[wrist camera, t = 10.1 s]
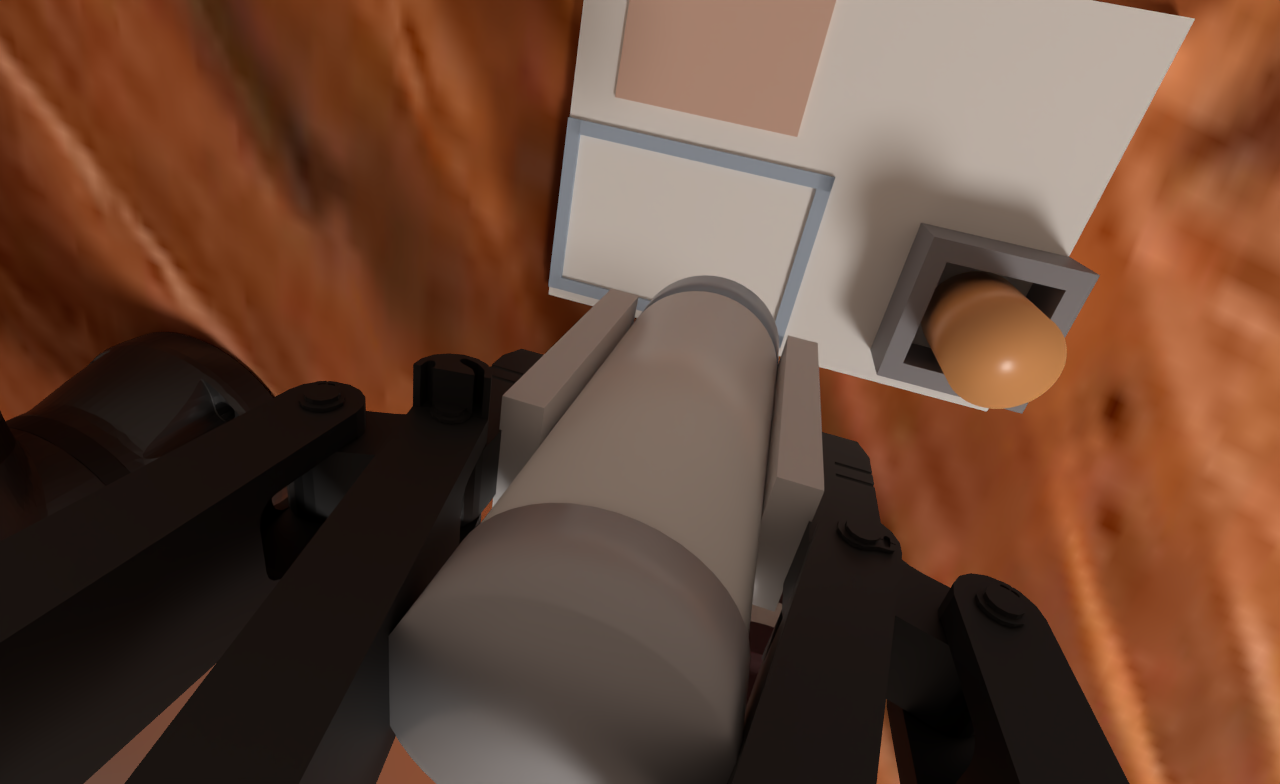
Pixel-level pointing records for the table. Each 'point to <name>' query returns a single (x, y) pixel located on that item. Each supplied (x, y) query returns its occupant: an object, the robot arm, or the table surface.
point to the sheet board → (849, 157)
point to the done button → (992, 341)
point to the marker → (609, 572)
